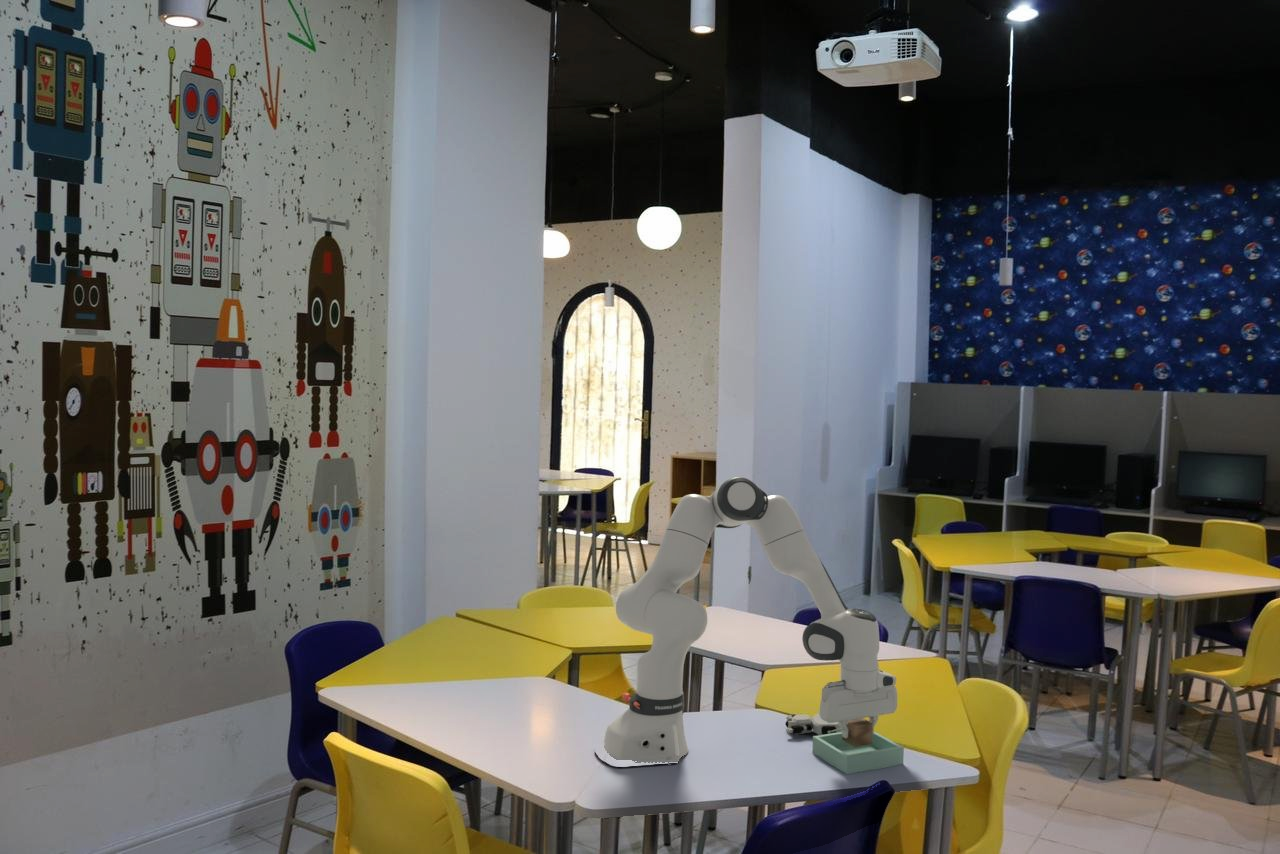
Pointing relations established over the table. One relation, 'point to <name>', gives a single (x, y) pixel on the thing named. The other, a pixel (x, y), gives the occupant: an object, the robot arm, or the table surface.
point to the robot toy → (810, 725)
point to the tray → (857, 753)
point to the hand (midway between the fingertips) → (857, 735)
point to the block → (859, 732)
